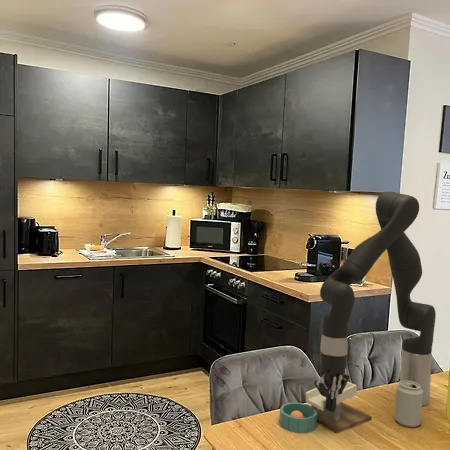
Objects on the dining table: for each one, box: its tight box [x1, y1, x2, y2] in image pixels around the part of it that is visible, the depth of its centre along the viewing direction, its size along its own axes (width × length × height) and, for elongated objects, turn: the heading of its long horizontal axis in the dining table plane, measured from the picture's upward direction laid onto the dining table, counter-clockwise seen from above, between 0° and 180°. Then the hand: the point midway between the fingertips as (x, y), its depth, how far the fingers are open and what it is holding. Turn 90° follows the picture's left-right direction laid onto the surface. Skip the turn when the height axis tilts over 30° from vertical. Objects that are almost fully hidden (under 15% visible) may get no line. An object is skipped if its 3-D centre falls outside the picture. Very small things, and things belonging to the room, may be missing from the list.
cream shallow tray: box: [304, 381, 358, 417], centre depth 140 cm, size 15×11×3 cm
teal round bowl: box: [278, 402, 318, 434], centre depth 136 cm, size 11×11×4 cm
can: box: [394, 380, 423, 428], centre depth 139 cm, size 8×8×12 cm
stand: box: [310, 401, 373, 434], centre depth 141 cm, size 16×14×6 cm
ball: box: [290, 411, 304, 418], centre depth 134 cm, size 4×4×4 cm
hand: (330, 409), depth 133 cm, fingers closed
